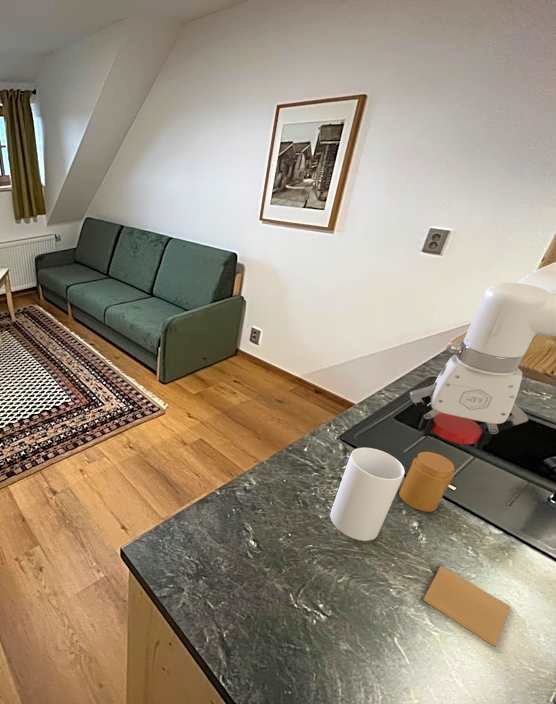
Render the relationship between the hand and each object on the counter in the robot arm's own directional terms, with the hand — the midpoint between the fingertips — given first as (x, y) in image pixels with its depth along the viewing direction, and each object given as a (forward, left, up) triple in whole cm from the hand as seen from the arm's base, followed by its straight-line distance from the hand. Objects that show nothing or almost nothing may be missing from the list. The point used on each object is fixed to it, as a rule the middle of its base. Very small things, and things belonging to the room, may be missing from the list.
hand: (449, 438), depth 76 cm
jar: (0, 0, -17) cm, 17 cm away
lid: (0, 0, +3) cm, 3 cm away
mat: (-12, +19, -17) cm, 28 cm away
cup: (+6, +16, -17) cm, 24 cm away
